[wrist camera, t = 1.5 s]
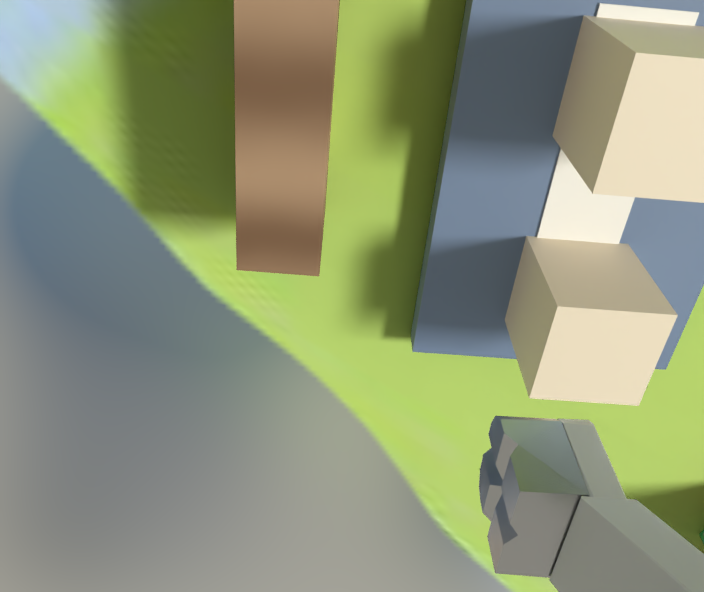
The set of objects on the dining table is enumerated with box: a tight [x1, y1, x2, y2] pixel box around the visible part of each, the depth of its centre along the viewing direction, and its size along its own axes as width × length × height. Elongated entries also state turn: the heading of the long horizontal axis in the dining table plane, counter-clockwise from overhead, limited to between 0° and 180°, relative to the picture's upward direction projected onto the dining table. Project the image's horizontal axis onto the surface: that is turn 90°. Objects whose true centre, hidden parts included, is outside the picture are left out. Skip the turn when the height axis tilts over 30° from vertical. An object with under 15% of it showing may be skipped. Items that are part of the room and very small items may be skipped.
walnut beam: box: [234, 0, 340, 276], centre depth 26 cm, size 16×4×6 cm, turn 175°
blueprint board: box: [411, 0, 704, 406], centre depth 29 cm, size 20×14×8 cm
